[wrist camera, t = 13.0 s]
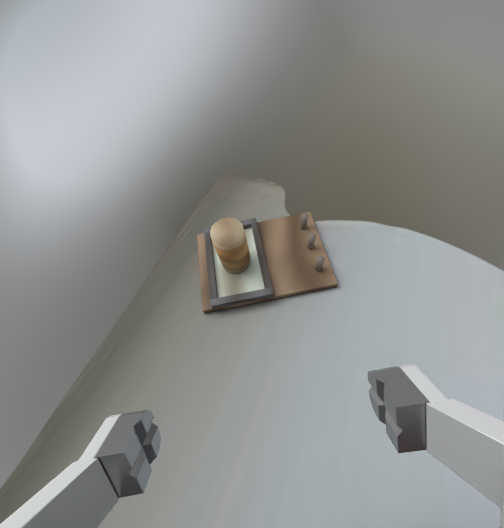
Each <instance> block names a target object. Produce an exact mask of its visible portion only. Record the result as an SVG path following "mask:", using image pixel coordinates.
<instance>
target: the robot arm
mask: <svg viewBox="0 0 504 528" xmlns="http://www.w3.org/2000/svg"><path fill="white" fill-rule="evenodd" d="M368 381H369V383H370V384H371V386H372V387H371V388H370V390H369V395H370V400H371V403H372V407H373V409H374V411H375V414H376V415H377V417H378V419H379V420H380V421H381V422H383V423H384V424H386V433H387V434H388V436H389V438H390V440H391V441H392V443H393V445H394V446H395V448H396V450H397V452H398V453H404V452H412V451H420V450H427V452H428V453H430V454H431V455H432V456H433V457H435V458H436V459H437V460H439V461H440V462H441V463H443V464H444V465H445V466H447V467H448V468H449V469H450V470H452V471H453V472H454V473H456V474H457V475H458V476H460V477H461V478H462V479H463V480H465V481H466V482H467V483H469V484H470V485H471V486H473V487H474V488H475V489H477V490H478V491H479V492H480V493H482V494H483V495H484V496H486V497H487V498H488V499H490V500H491V501H492V502H493V503H495V504H496V505H497V506H499V507H500V508H501V519H500V528H504V422H503V421H501V420H498V419H496V418H494V417H492V416H490V415H487V414H485V413H483V412H481V411H479V410H477V409H474V408H472V407H470V406H468V405H466V404H463V403H461V402H459V401H457V400H455V399H450V400H449V399H448V398H447V397H446V396H445V395H444V394H443V393H442V392H441V391H440V390H439V389H438V388H437V387H436V386H435V385H434V384H433V383H432V382H431V381H430V380H429V379H428V378H427V377H426V376H425V375H424V374H423V373H422V372H421V371H420V370H419V369H418V368H417V367H416V366H415V365H414V364H411V363H410V364H405V365H399V366H396V367H389V368H384V369H378V370H373V371H368ZM153 419H154V416H153V414H152V412H151V410H144V411H137V412H130V413H123V414H119V415H111V416H109V417H108V418H106V420H105V421H104V423H103V424H102V426H101V427H100V429H99V430H98V432H97V433H96V435H95V436H94V438H93V439H92V441H91V442H90V444H89V445H88V447H87V448H86V450H85V452H84V453H83V455H82V456H81V458H80V459H79V461H76V462H73V463H72V464H71V465H70V466H68V467H67V468H66V469H65V470H64V471H63V472H61V473H60V474H59V475H58V476H57V477H56V478H54V479H53V480H52V481H51V482H50V483H48V484H47V485H46V486H45V487H44V488H43V489H41V490H40V491H39V492H38V493H37V494H35V495H34V496H33V497H32V498H31V499H30V500H28V501H27V502H26V503H25V504H24V505H22V506H21V507H20V508H19V509H18V510H17V511H15V512H14V513H13V514H12V515H11V516H9V517H8V518H7V519H6V520H5V521H4V522H2V523H1V524H0V528H97V527H98V526H99V525H100V523H101V522H102V521H103V519H104V518H105V517H106V516H107V514H108V513H109V512H110V510H111V509H112V508H113V506H114V505H115V504H116V503H117V501H118V500H119V499H118V498H121V497H126V496H131V495H137V494H142V493H144V491H145V488H146V485H147V482H148V480H149V477H150V474H151V471H152V470H151V466H150V464H151V463H152V462H153V460H154V459H155V458H156V457H157V454H158V452H159V449H160V441H161V437H160V431H159V428H158V426H156V425H155V424H153V423H152V421H153Z"/></svg>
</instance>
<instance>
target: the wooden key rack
mask: <svg viewBox="0 0 504 528" xmlns="http://www.w3.org/2000/svg"><path fill="white" fill-rule="evenodd" d="M240 222H241V223H242V225H243V228H244V231H245V234H246V239H247V243H248V248H249V253H250V265H249V267H248V268H247V269H246V270H245V271H243V272H241V273H238V274H233V273H229V272H228V271H226V270H225V268H224V266H223V265H222V263H221V261H220V259H219V257H218V254H217V252H216V250H215V247H214V245H213V243H212V239H211V236H210V230H211V228H212V227H209V228H204V233H202V234H197V239H198V253H199V267H200V282H201V296H202V310H203V312H204V313H207V312H212V311H217V310H222V309H227V308H232V307H237V306H242V305H247V304H252V303H257V302H262V301H267V300H272V299H277V298H282V297H287V296H292V295H297V294H302V293H307V292H312V291H317V290H322V289H327V288H332V287H337V285H338V283H337V280H336V278H335V275H334V273H333V270H332V267H331V265H330V262H329V260H328V257H327V254H326V252H325V249H324V247H323V244H322V241H321V239H320V236H319V234H318V231H317V228H316V226H315V223H314V221H313V218H312V216H311V213H310V212H306V213H302V214H297V215H291V216H286V217H281V218H276V219H272V220H267V221H262V222H257V221H256V218H254V219H249V220H244V221H240Z"/></svg>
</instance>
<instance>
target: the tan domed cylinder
mask: <svg viewBox="0 0 504 528" xmlns="http://www.w3.org/2000/svg"><path fill="white" fill-rule="evenodd" d="M210 236H211V239H212V243H213V245H214V247H215V250H216V252H217V254H218V257H219V259H220V261H221V263H222V265H223V266H224V268H225V270H226V271H228V272H229V273H233V274H238V273H241V272H243V271H245V270H246V269H247V268H248V267H249V265H250V253H249V248H248V243H247V239H246V234H245V231H244V228H243V225H242V223H241V222H240V221H239V220H237V219H234V218H223V219H220V220H218V221H217V222H216V223H214V225H213V226H212V228H211V230H210Z"/></svg>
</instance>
